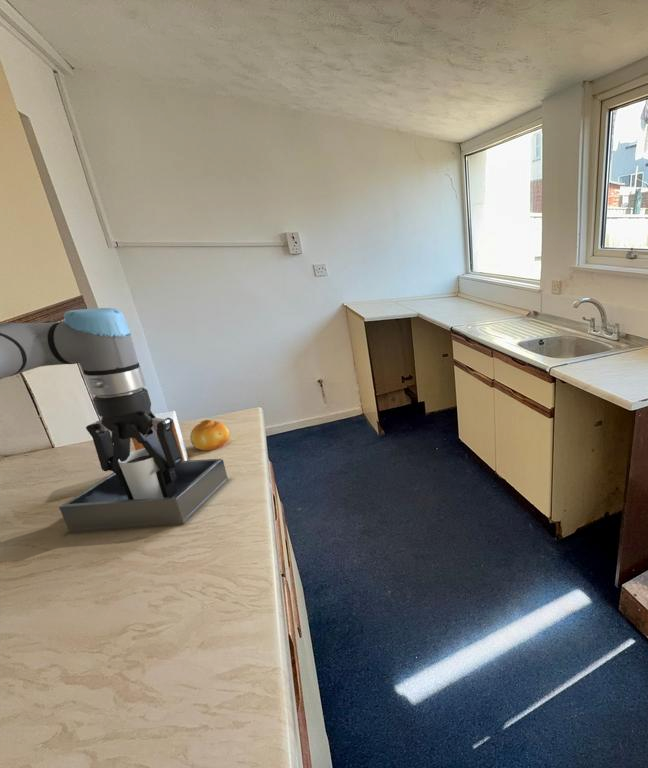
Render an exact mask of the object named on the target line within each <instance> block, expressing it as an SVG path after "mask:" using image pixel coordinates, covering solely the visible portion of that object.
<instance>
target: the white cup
mask: <svg viewBox="0 0 648 768" xmlns="http://www.w3.org/2000/svg"><path fill="white" fill-rule="evenodd" d="M118 463H119V465H120V468H121V470H122V472H123V475H124V477H125V479H126V482H127V484H128V487H129V489H130V491H131V494H132V496H133V498H134V500H135V499H150V498H164V497H163V494H162V491H161V487H160V484H159V481H158V478H157V475H156V472H157V471H158V470H159V468H158V466H157V465H156V464H155V462H154V459H153V457H152V458H151V456H150V455H149V454H148V452H147V451H146V449H140V450H133V451H130V455H129V457H128V458H127V460H126V461H123V462H121V461H120V459H119V460H118Z"/></svg>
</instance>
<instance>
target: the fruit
mask: <svg viewBox="0 0 648 768" xmlns="http://www.w3.org/2000/svg"><path fill="white" fill-rule="evenodd" d="M189 436H190V437H189V440H190V443H191V445H192V446H193V447H195V448H196V449H198V450H201V451H212V450H216V449H218V448H220V447H222V446H224V445H225V444H226V443H227V442H228V441H229V439H230V430H229V428H228V427H227V425H225V424H224V423H222V422H220V421H218V420H212V419H204V420H201V421H200V422H199V423H198V424H196V425H195V426H194V427H193V428H192V430H191V432H190V435H189Z"/></svg>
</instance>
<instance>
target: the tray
mask: <svg viewBox="0 0 648 768" xmlns="http://www.w3.org/2000/svg"><path fill="white" fill-rule="evenodd" d="M174 471H175V474H176V477H177V478H176V480H175V481H174V483H175V486H176V489H177V493H176V494H175V495H174V496H173V497H165V498H150V499H135V500H129V499H128V496H127V493H126V490H125V487H124V486H121V485H120V483H119V480H118V477H117V474H116V473H114V472H113V471H112V473H110V474H109V475H107V476H105V477H104V478H102V479H101V480H99V481H98V482H96V483H95V484H93V485H92V486H90V487H88V488H87V489H85V490H83V491H82V492H80V493H79V494H77V495H75V496H74V497H73V498H71V499H69V500H67V501H66V502H64V503H62V504H61V505H60V506H58V508H59V510H60V513H61V515H62V518H63V520H64V522H65V525H66V527H67V529H68V531H69V533H70V534H75V533H86V532H87V533H88V532H101V531H112V530H113V531H114V530H128V529H139V528H152V527H153V528H154V527H165V526H166V527H167V526H178V525H179V526H181V525H185V524H186V523H187V522H188V521H189V520H190V519H192V517H193V516H194V515H195V514H196V513H197V512H199V510H200V509H201V508H202V507H203V506H204V505H205V504H207V502H208V501H210V500H211V498H212V497H213V496H214V495H216V494H217V493H218V492H219V491H220V490H221V489H222V487H224V485H226V484H227V483H228V481H229V479H228V474H227V470H226V467H225V462H224V458H207V459H193V460H192V459H190V460H189V459H188V460H187V461H181V462H180V463H179V464H177V465H176V466H175V467H174Z"/></svg>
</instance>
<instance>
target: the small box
mask: <svg viewBox="0 0 648 768" xmlns="http://www.w3.org/2000/svg"><path fill="white" fill-rule="evenodd" d="M153 414H154V415H155V417H156V418H160V419H166V418H171V419H172V420H173V423H172V430H173V433H174V435H175V438H176V441H177V444H178V447H179V450H180V453H181V455H182V458H183V461H188V453H187V449H186V445H185V441H184V439H183V434H182V430H181V427H180V424H179V420H178V418H177V416H178V415H177V412H176V411H175V410H172V411H171V410H170V411H166V412H160V413H153ZM152 427H153V428H155V426H154V425H153V426H152ZM155 431H156V433H157V430H155ZM146 435H147V434H146ZM146 435H144V436H146ZM156 436H157V435H156ZM157 438H158V436H157ZM131 441H132V444H133V447H134V451H136V450H140V449H145V448H144V446H143V445H142V444H141V443H138V442H137V440H136V439H135V438H131Z"/></svg>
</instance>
